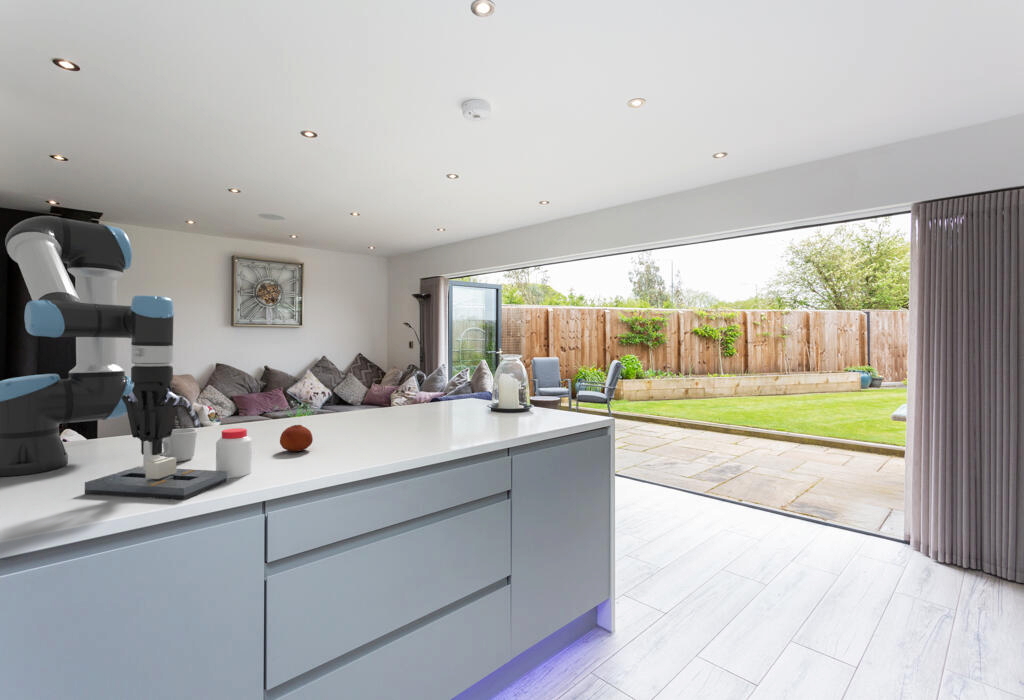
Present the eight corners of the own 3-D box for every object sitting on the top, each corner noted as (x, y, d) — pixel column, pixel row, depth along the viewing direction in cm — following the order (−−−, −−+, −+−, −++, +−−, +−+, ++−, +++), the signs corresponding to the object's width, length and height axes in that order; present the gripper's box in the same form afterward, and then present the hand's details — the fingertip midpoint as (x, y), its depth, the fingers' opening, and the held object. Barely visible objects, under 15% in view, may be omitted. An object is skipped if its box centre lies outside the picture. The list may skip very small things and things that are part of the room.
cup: (169, 467, 123) (169, 436, 123) (144, 465, 125) (144, 434, 125) (203, 457, 134) (204, 429, 134) (180, 455, 135) (180, 427, 135)
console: (84, 494, 102) (84, 481, 102) (138, 476, 115) (138, 466, 115) (183, 500, 99) (184, 487, 99) (227, 481, 112) (227, 470, 112)
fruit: (273, 453, 141) (273, 426, 140) (293, 447, 149) (293, 421, 149) (298, 455, 138) (299, 428, 138) (318, 449, 147) (318, 423, 147)
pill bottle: (257, 469, 123) (257, 427, 123) (241, 478, 115) (241, 433, 115) (226, 469, 123) (227, 427, 123) (208, 477, 115) (209, 432, 115)
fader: (143, 484, 105) (143, 461, 105) (162, 478, 110) (162, 456, 110) (160, 485, 104) (160, 462, 104) (178, 479, 109) (178, 457, 109)
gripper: (110, 364, 103) (109, 472, 104) (165, 366, 102) (164, 475, 103) (140, 363, 111) (139, 463, 111) (192, 364, 110) (191, 466, 110)
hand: (151, 468), depth 107 cm, fingers closed
